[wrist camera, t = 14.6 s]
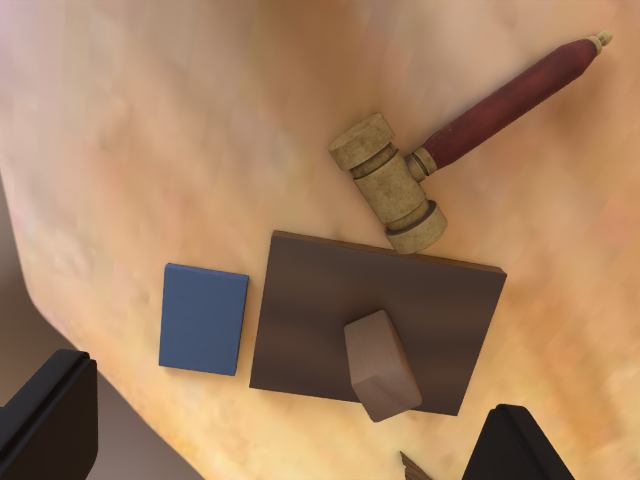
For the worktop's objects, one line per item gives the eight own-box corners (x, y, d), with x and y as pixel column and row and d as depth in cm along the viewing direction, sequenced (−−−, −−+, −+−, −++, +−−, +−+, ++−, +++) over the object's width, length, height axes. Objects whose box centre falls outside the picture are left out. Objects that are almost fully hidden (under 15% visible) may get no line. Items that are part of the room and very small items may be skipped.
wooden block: (361, 359, 37) (373, 426, 29) (341, 324, 36) (349, 385, 28) (401, 342, 36) (425, 405, 29) (383, 306, 35) (403, 363, 28)
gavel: (607, -47, 26) (661, 93, 28) (560, -23, 30) (611, 96, 33) (330, 151, 28) (405, 263, 31) (324, 146, 32) (391, 244, 35)
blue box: (167, 263, 35) (164, 266, 35) (249, 275, 36) (247, 279, 35) (161, 360, 38) (158, 365, 38) (236, 371, 39) (234, 376, 38)
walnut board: (273, 230, 34) (271, 235, 33) (500, 267, 36) (507, 274, 35) (251, 377, 39) (248, 388, 38) (452, 405, 41) (457, 416, 39)
